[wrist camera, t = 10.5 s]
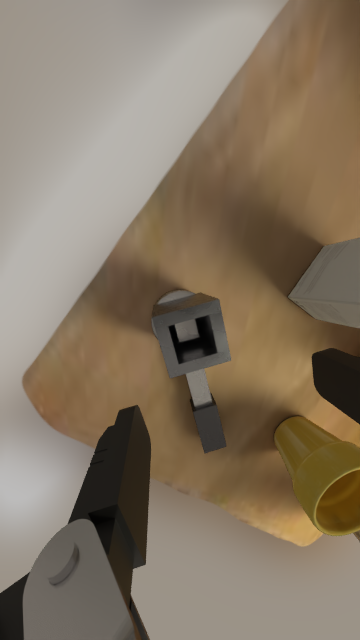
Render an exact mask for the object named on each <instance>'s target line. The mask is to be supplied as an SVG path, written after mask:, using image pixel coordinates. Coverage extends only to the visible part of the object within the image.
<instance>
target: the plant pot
mask: <svg viewBox="0 0 360 640" xmlns="http://www.w3.org/2000/svg"><path fill="white" fill-rule="evenodd" d="M274 442H275V444H276V447H277V449H278V451H279V453H280V455H281V457H282V459H283V461H284V463H285V465H286V468H287V470H288V472H289V474H290V476H291V478H292V480H293V490H294V493H295V495H296V497H297V499H298V501H299V502H300V504H301V506H302V507H303V509H304V511H305V512H306V514H307V515H308V517H309V518H310V520H311V521H312V523H313V524H314V526H315V527H316V528H317V529H318V530H319V531H321V532H322V533H324V534H327V535H331V536H342V535H347V534H351V533H354V532H356V531H359V530H360V448H359V447H358V446H356V445H355V444H353V443H350V442H346V441H342V440H340V439H338V438H337V437H335V436H334V435H332V434H330V433H329V432H327V431H325V430H324V429H322V428H321V427H319V426H317V425H316V424H314V423H313V422H311V421H310V420H308V419H306V418H304V417H300V416H295V417H291V418H288V419H286V420H285V421H283V422H282V423H281V424H280V425H279V426H278V428H277V429H276V431H275V434H274Z"/></svg>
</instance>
